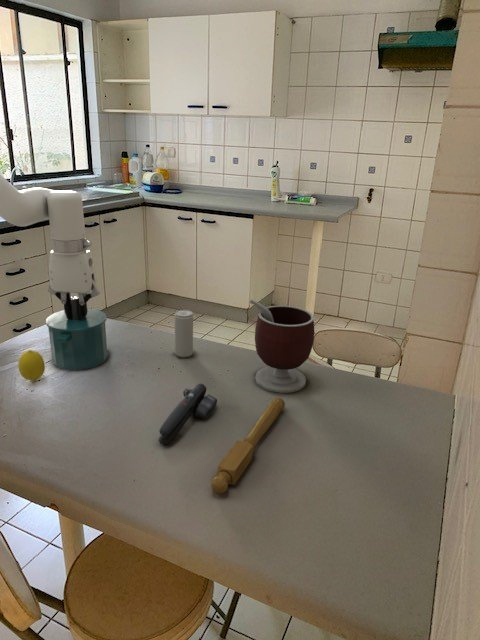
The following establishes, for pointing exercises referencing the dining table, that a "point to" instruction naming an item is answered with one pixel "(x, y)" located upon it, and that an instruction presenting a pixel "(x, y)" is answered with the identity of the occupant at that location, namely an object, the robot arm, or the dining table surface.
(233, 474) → the tap handle
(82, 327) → the lid
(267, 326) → the mate gourd
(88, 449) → the dining table surface
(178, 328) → the beverage can
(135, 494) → the dining table surface
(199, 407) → the can opener
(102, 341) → the pot
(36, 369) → the lemon
